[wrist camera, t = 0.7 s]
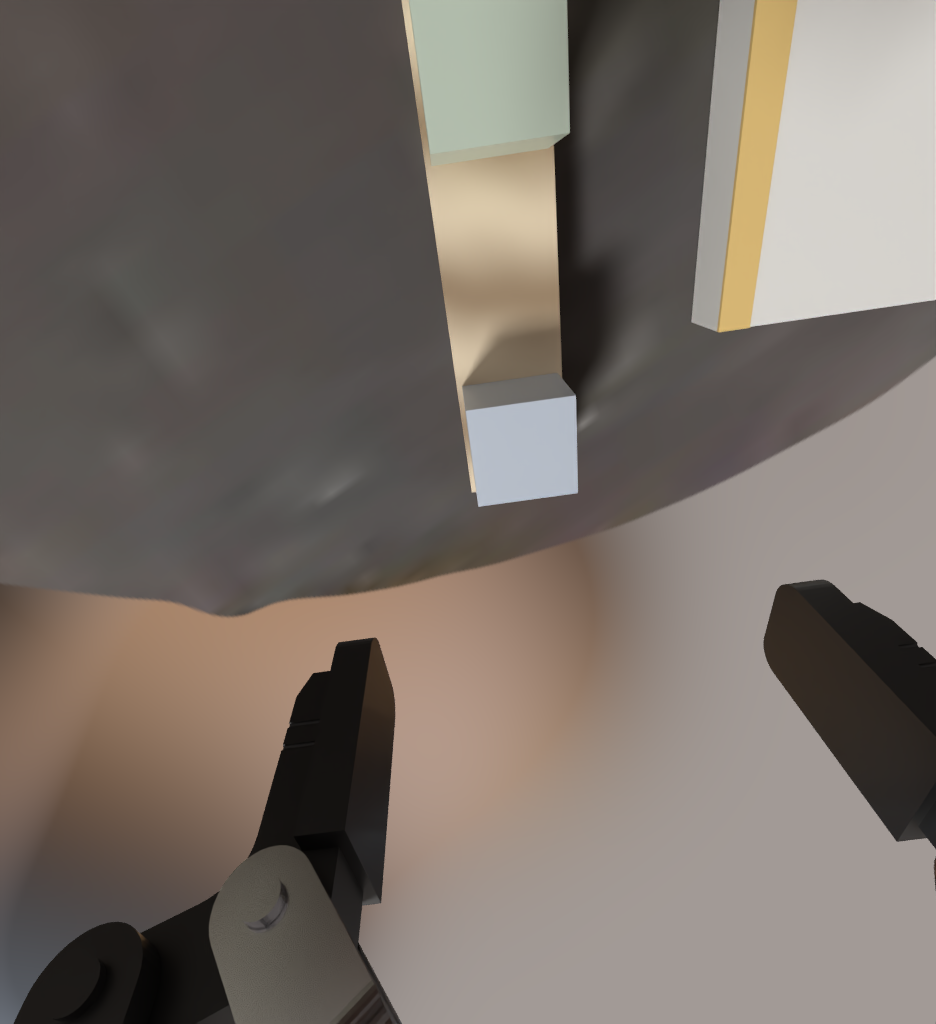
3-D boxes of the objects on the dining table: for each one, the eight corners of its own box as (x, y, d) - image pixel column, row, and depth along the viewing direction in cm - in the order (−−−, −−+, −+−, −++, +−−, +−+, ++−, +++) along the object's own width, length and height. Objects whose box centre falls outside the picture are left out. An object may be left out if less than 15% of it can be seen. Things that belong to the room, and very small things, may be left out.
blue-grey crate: (461, 386, 26) (465, 410, 22) (557, 372, 26) (576, 395, 22) (473, 472, 28) (478, 506, 25) (560, 460, 28) (578, 493, 25)
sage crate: (409, 6, 19) (402, -45, 15) (541, -15, 19) (565, -71, 15) (431, 166, 21) (430, 154, 18) (548, 148, 21) (569, 132, 18)
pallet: (402, 3, 22) (396, -39, 18) (528, -16, 22) (546, -63, 18) (468, 464, 33) (471, 492, 29) (551, 452, 32) (565, 479, 29)
